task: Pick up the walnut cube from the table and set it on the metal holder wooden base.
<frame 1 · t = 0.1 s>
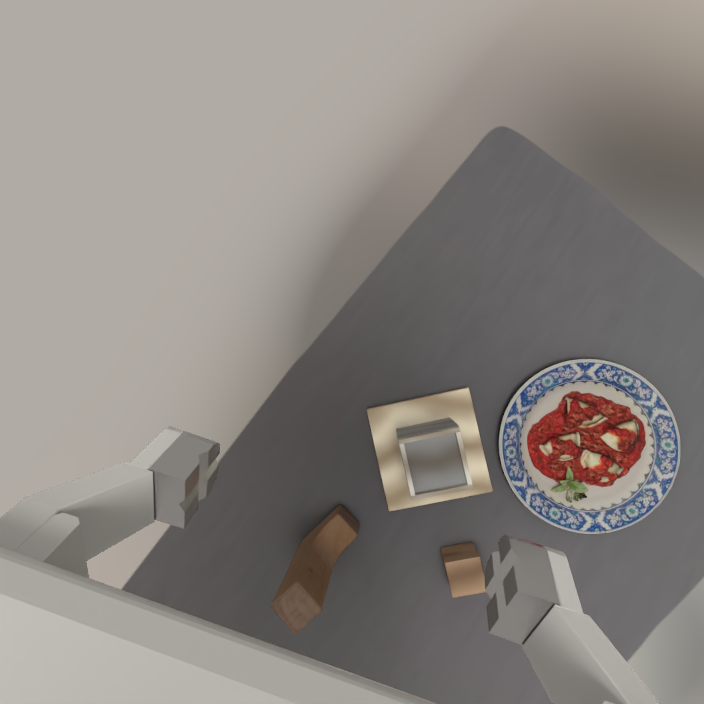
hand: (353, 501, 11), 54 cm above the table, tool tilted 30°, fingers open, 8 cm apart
metal holder wooden base: (427, 447, 65), on the table
ceramic plate: (580, 442, 63), on the table
wooden block: (330, 531, 66), on the table
walnut cube: (459, 560, 64), on the table
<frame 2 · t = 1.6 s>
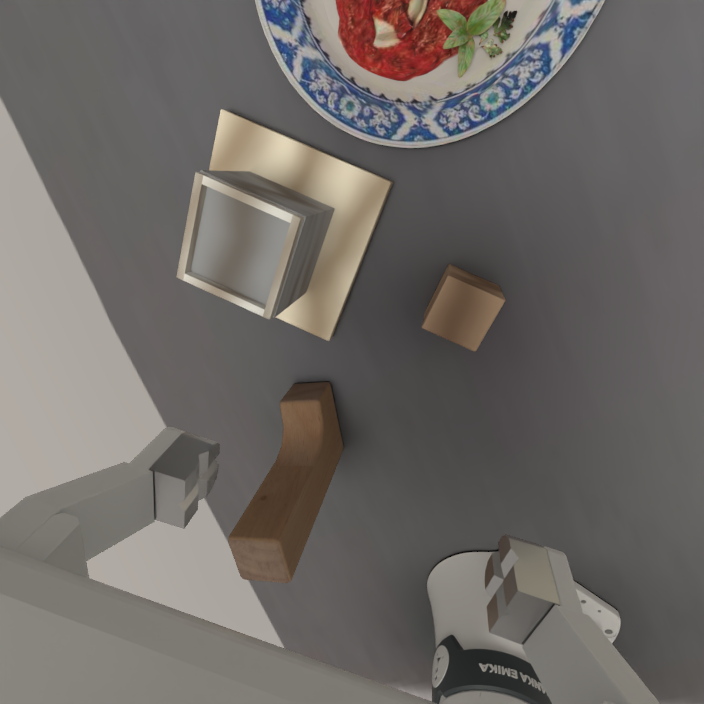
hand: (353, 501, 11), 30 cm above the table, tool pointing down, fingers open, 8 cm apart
metal holder wooden base: (285, 232, 40), on the table
wooden block: (320, 415, 48), on the table
walnut cube: (461, 298, 39), on the table
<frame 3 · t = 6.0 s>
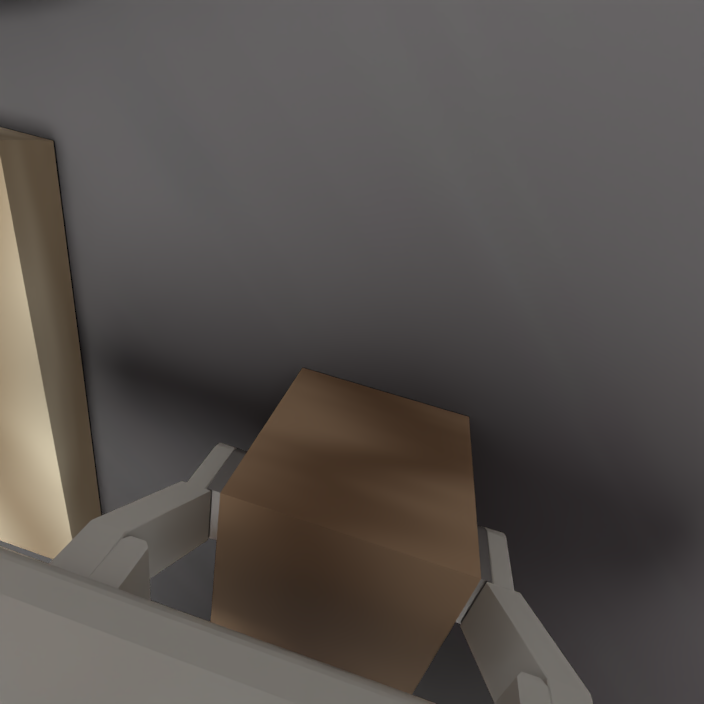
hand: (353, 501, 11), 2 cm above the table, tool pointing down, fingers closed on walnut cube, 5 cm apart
walnut cube: (365, 455, 13), on the table, touching gripper
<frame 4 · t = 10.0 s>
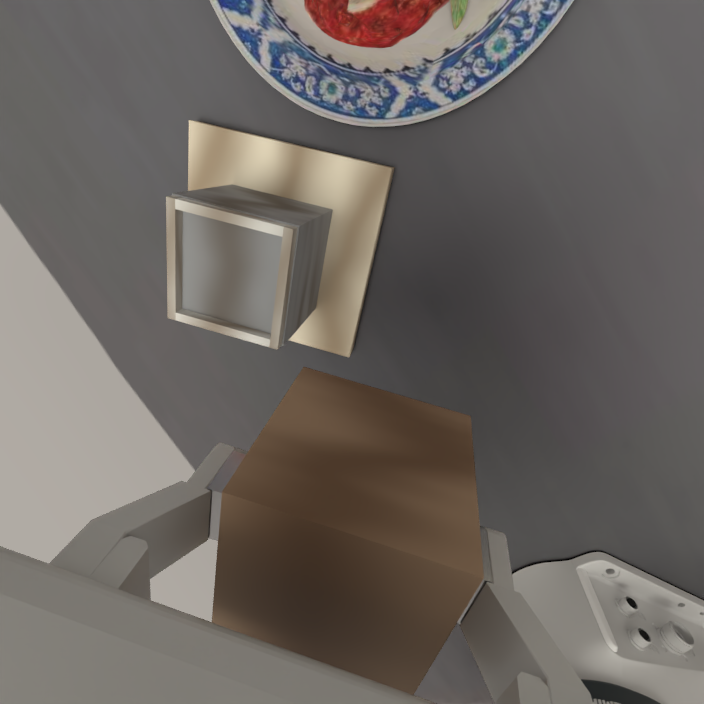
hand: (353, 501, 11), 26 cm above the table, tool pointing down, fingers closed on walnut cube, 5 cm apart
metal holder wooden base: (282, 245, 36), on the table
walnut cube: (366, 454, 13), point 24 cm above the table, touching gripper
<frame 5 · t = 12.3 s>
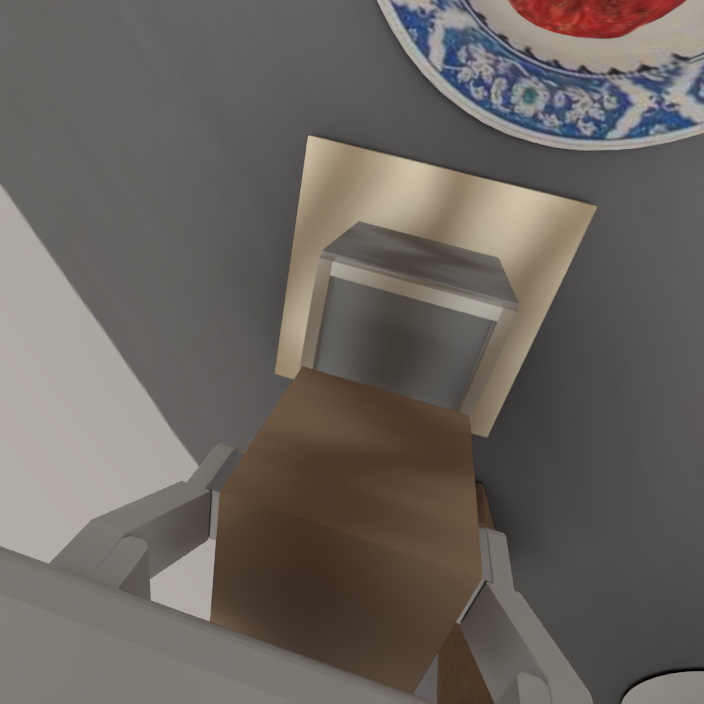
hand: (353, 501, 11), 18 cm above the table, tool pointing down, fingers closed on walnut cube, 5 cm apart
metal holder wooden base: (410, 297, 27), on the table
wooden block: (466, 521, 35), on the table
walnut cube: (365, 454, 13), point 16 cm above the table, touching gripper
when the fingers open (12 cm above the table, at t = 14.2 s): walnut cube stays where it is, resting on metal holder wooden base.
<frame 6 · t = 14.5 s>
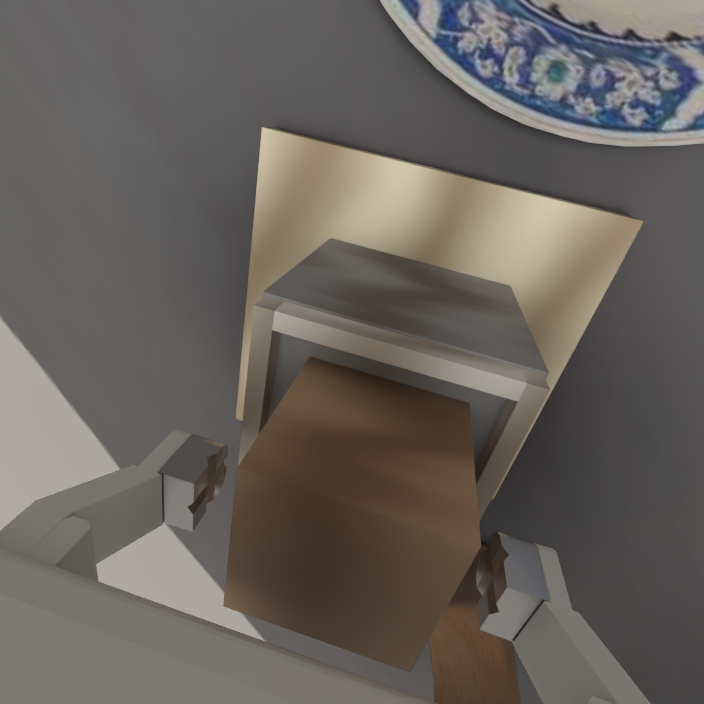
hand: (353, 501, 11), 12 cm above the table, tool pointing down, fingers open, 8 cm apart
metal holder wooden base: (398, 329, 22), on the table
wooden block: (467, 583, 30), on the table
walnut cube: (369, 441, 14), point 9 cm above the table, touching metal holder wooden base
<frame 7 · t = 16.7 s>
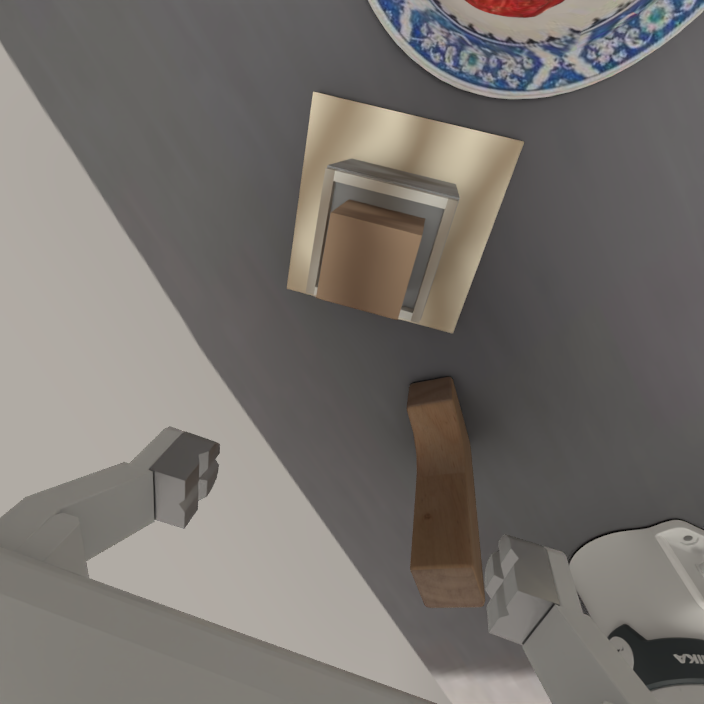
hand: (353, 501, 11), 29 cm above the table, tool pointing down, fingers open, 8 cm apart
metal holder wooden base: (391, 221, 36), on the table
wooden block: (440, 412, 44), on the table
walnut cube: (377, 247, 27), point 9 cm above the table, touching metal holder wooden base
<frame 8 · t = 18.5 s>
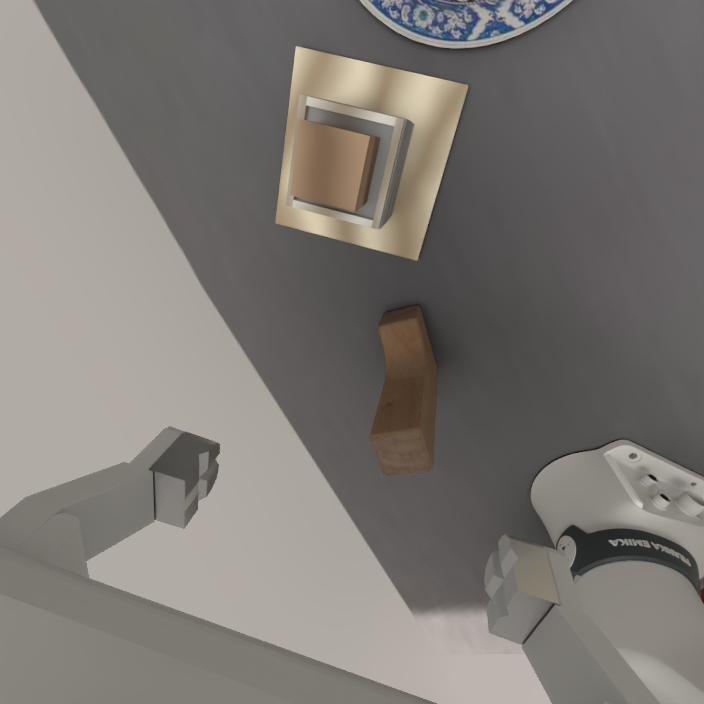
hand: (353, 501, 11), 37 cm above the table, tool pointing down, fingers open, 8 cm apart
metal holder wooden base: (364, 161, 42), on the table
wooden block: (411, 341, 50), on the table
walnut cube: (343, 164, 33), point 9 cm above the table, touching metal holder wooden base
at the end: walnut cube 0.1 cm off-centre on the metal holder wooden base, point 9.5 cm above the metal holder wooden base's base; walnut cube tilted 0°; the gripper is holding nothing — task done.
